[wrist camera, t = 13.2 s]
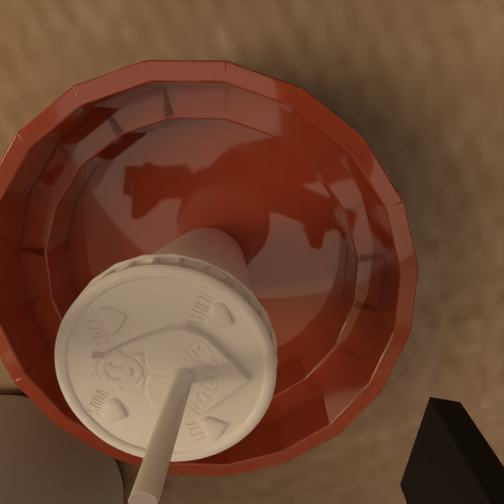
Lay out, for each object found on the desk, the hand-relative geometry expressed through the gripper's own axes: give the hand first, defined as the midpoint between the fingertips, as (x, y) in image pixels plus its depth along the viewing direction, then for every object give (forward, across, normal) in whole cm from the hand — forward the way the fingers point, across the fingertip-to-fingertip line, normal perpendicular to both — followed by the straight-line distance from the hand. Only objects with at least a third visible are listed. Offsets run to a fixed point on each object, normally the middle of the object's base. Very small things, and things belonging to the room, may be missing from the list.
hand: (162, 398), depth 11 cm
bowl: (+12, 0, 0) cm, 12 cm away
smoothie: (+11, 0, 0) cm, 11 cm away
